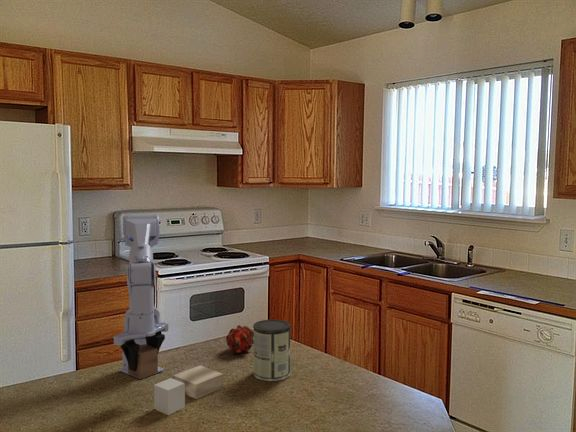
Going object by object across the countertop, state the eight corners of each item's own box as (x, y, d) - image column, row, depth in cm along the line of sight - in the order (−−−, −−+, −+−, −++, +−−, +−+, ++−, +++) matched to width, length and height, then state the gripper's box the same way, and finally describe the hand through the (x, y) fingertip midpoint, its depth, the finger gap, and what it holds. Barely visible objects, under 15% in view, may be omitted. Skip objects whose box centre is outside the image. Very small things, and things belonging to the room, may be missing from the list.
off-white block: (154, 409, 122) (154, 384, 121) (171, 401, 126) (170, 378, 125) (168, 415, 119) (168, 390, 118) (184, 407, 123) (184, 383, 122)
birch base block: (173, 390, 133) (173, 375, 133) (200, 379, 140) (200, 365, 140) (196, 400, 128) (196, 384, 127) (223, 388, 134) (223, 373, 134)
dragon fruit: (248, 349, 168) (237, 367, 157) (227, 333, 168) (215, 350, 157) (263, 330, 165) (252, 348, 154) (241, 314, 166) (229, 331, 154)
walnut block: (128, 373, 126) (127, 349, 125) (145, 367, 130) (144, 344, 129) (140, 378, 123) (140, 354, 122) (157, 372, 127) (157, 348, 126)
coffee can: (264, 364, 150) (265, 317, 149) (296, 371, 146) (297, 322, 144) (246, 377, 141) (246, 326, 140) (279, 384, 137) (279, 332, 135)
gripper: (126, 321, 117) (127, 380, 118) (176, 308, 128) (176, 361, 129) (107, 316, 121) (109, 372, 122) (158, 303, 132) (158, 355, 134)
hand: (142, 366), depth 126 cm, fingers closed on walnut block, 5 cm apart
